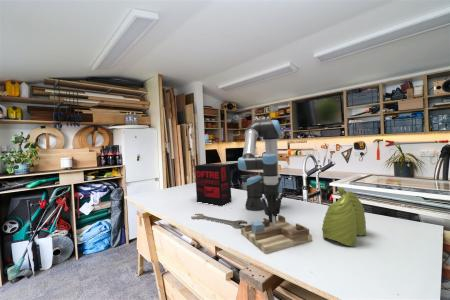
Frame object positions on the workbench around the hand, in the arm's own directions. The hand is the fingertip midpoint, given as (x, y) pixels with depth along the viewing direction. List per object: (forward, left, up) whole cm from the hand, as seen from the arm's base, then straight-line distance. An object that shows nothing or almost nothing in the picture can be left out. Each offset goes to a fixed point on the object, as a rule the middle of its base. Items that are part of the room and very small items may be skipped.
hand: (272, 227), depth 114 cm
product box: (-78, -6, -4) cm, 79 cm away
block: (-1, -9, -1) cm, 9 cm away
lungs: (+18, +30, -5) cm, 36 cm away
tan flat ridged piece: (+2, 0, -4) cm, 5 cm away
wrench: (-35, -18, -5) cm, 40 cm away
